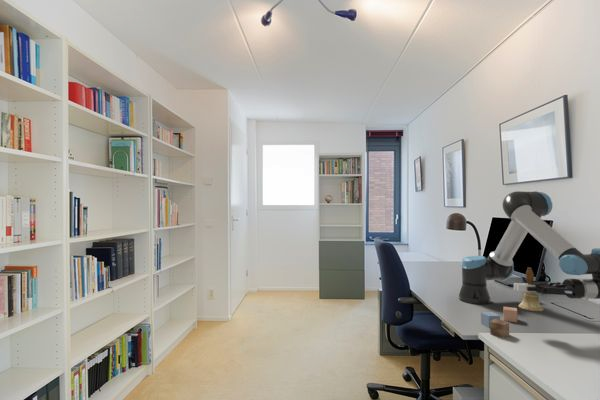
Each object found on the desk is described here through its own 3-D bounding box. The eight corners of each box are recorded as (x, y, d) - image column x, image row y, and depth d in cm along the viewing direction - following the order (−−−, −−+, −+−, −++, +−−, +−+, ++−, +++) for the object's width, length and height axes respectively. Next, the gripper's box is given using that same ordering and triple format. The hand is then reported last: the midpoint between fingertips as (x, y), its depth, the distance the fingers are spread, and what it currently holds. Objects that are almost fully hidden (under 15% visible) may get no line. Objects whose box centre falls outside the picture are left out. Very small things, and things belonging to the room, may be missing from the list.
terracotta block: (503, 320, 146) (503, 309, 146) (503, 317, 151) (503, 306, 151) (517, 322, 144) (517, 311, 144) (516, 319, 148) (516, 308, 148)
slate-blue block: (481, 324, 142) (480, 312, 142) (491, 323, 142) (491, 311, 143) (488, 328, 137) (488, 316, 137) (500, 327, 138) (499, 315, 138)
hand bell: (536, 312, 125) (535, 270, 126) (513, 306, 133) (513, 266, 133) (548, 309, 129) (547, 268, 130) (525, 303, 137) (525, 265, 137)
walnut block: (490, 334, 130) (490, 321, 130) (495, 331, 133) (494, 318, 134) (504, 338, 126) (504, 324, 127) (509, 334, 130) (508, 322, 130)
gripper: (594, 303, 122) (527, 302, 124) (565, 293, 137) (506, 292, 139) (593, 283, 122) (527, 282, 124) (565, 275, 137) (505, 274, 139)
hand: (516, 287), depth 132 cm, fingers closed on hand bell, 2 cm apart
